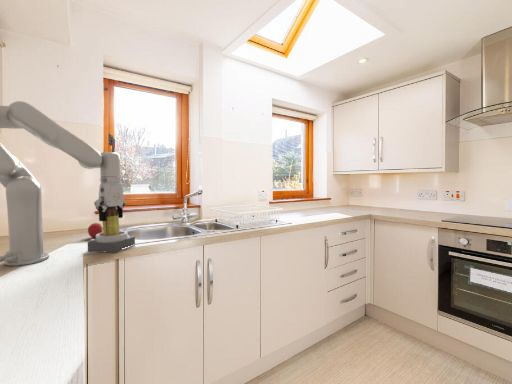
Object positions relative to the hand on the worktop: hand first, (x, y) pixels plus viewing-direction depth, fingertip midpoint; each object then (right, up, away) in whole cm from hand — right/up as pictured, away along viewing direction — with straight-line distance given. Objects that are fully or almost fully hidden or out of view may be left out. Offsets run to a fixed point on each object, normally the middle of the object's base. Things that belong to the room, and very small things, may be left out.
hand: (111, 219), depth 115 cm
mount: (0, -13, +1) cm, 13 cm away
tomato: (-19, -12, +21) cm, 31 cm away
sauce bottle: (0, -9, 0) cm, 9 cm away
